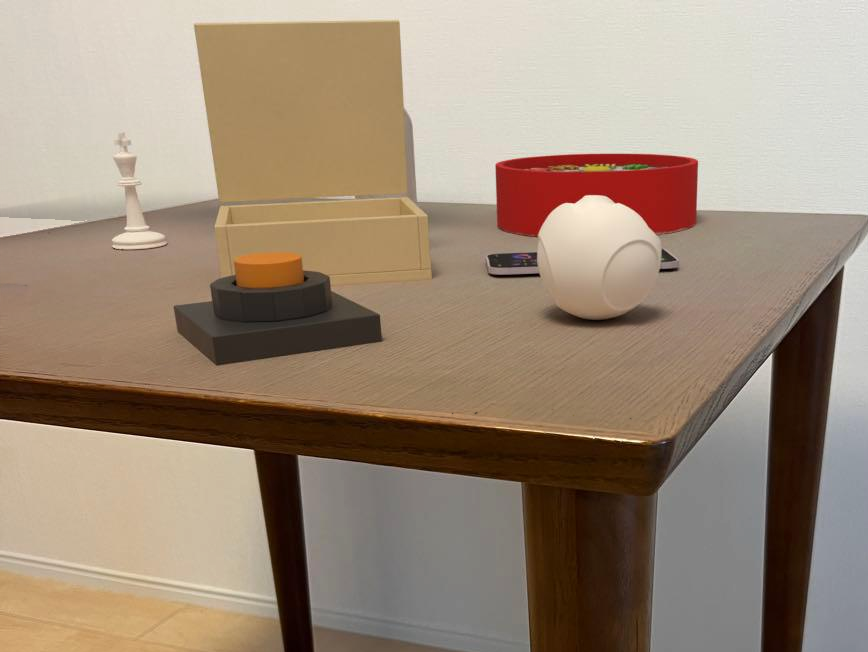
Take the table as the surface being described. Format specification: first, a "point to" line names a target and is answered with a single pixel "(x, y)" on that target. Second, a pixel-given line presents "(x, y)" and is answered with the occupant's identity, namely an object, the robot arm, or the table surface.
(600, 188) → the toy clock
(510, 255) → the smartphone
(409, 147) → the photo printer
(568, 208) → the motion sensor
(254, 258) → the button
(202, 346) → the block
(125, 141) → the chess piece
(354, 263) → the open wooden box
